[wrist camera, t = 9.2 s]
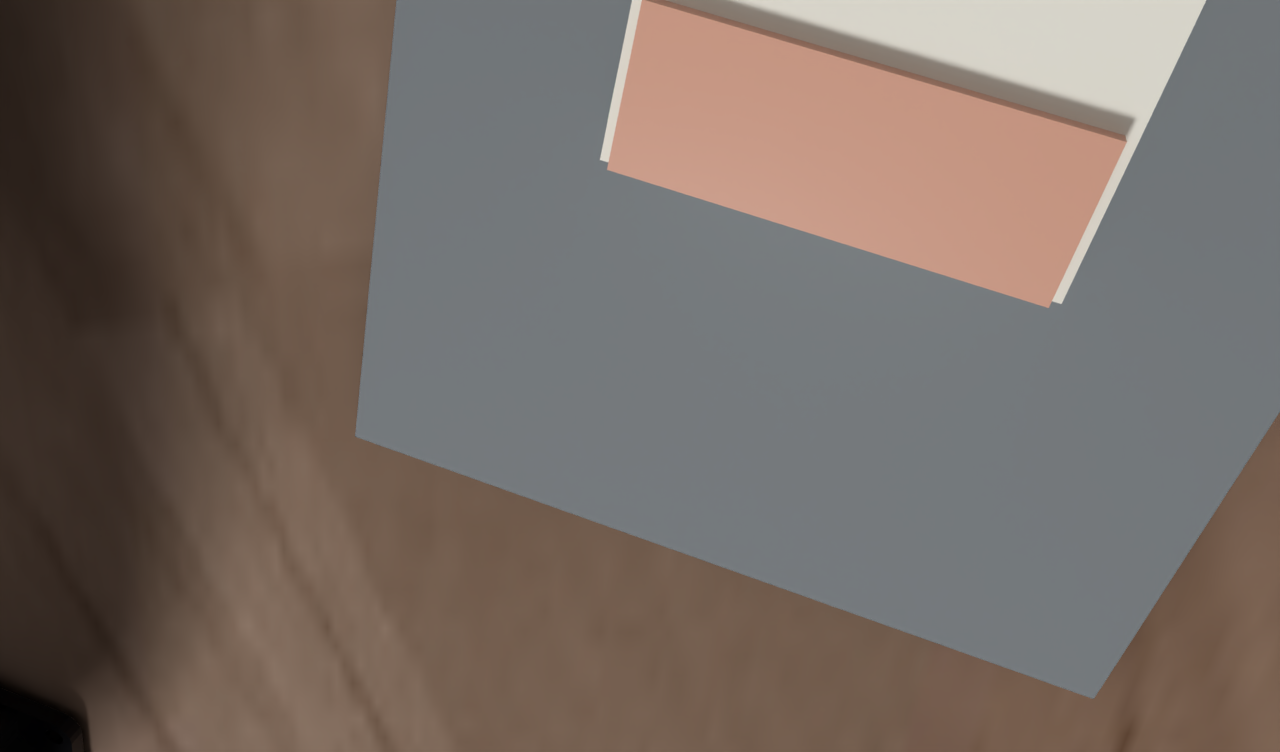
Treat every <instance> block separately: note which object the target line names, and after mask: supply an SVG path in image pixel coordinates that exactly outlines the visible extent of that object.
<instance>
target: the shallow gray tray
mask: <svg viewBox="0 0 1280 752" xmlns="http://www.w3.org/2000/svg"><path fill="white" fill-rule="evenodd" d="M631 3H632V0H397V1H396V11H395V22H394V32H393V43H392V53H391V64H390V74H389V85H388V96H387V106H386V117H385V127H384V138H383V148H382V159H381V169H380V180H379V191H378V201H377V212H376V222H375V233H374V243H373V254H372V265H371V275H370V286H369V296H368V307H367V317H366V328H365V338H364V349H363V360H362V370H361V381H360V391H359V402H358V412H357V423H356V434H355V437H358V438H361V439H363V440H366V441H369V442H372V443H375V444H377V445H380V446H383V447H386V448H389V449H392V450H394V451H397V452H400V453H403V454H406V455H408V456H411V457H414V458H417V459H420V460H422V461H425V462H428V463H431V464H434V465H437V466H439V467H442V468H445V469H448V470H451V471H453V472H456V473H459V474H462V475H465V476H468V477H470V478H473V479H476V480H479V481H482V482H484V483H487V484H490V485H493V486H496V487H498V488H501V489H504V490H507V491H510V492H513V493H515V494H518V495H521V496H524V497H527V498H529V499H532V500H535V501H538V502H541V503H543V504H546V505H549V506H552V507H555V508H558V509H560V510H563V511H566V512H569V513H572V514H574V515H577V516H580V517H583V518H586V519H588V520H591V521H594V522H597V523H600V524H603V525H605V526H608V527H611V528H614V529H617V530H619V531H622V532H625V533H628V534H631V535H634V536H636V537H639V538H642V539H645V540H648V541H650V542H653V543H656V544H659V545H662V546H664V547H667V548H670V549H673V550H676V551H679V552H681V553H684V554H687V555H690V556H693V557H695V558H698V559H701V560H704V561H707V562H709V563H712V564H715V565H718V566H721V567H724V568H726V569H729V570H732V571H735V572H738V573H740V574H743V575H746V576H749V577H752V578H755V579H757V580H760V581H763V582H766V583H769V584H771V585H774V586H777V587H780V588H783V589H785V590H788V591H791V592H794V593H797V594H800V595H802V596H805V597H808V598H811V599H814V600H816V601H819V602H822V603H825V604H828V605H830V606H833V607H836V608H839V609H842V610H845V611H847V612H850V613H853V614H856V615H859V616H861V617H864V618H867V619H870V620H873V621H875V622H878V623H881V624H884V625H887V626H890V627H892V628H895V629H898V630H901V631H904V632H906V633H909V634H912V635H915V636H918V637H921V638H923V639H926V640H929V641H932V642H935V643H937V644H940V645H943V646H946V647H949V648H951V649H954V650H957V651H960V652H963V653H966V654H968V655H971V656H974V657H977V658H980V659H982V660H985V661H988V662H991V663H994V664H996V665H999V666H1002V667H1005V668H1008V669H1011V670H1013V671H1016V672H1019V673H1022V674H1025V675H1027V676H1030V677H1033V678H1036V679H1039V680H1042V681H1044V682H1047V683H1050V684H1053V685H1056V686H1058V687H1061V688H1064V689H1067V690H1070V691H1072V692H1075V693H1078V694H1081V695H1084V696H1087V697H1089V698H1092V699H1094V698H1095V696H1096V695H1097V693H1098V691H1099V690H1100V688H1101V687H1102V685H1103V684H1104V682H1105V681H1106V679H1107V678H1108V676H1109V674H1110V673H1111V671H1112V670H1113V668H1114V667H1115V665H1116V664H1117V662H1118V661H1119V659H1120V657H1121V656H1122V654H1123V653H1124V651H1125V650H1126V648H1127V647H1128V645H1129V644H1130V642H1131V641H1132V639H1133V637H1134V636H1135V634H1136V633H1137V631H1138V630H1139V628H1140V627H1141V625H1142V624H1143V622H1144V620H1145V619H1146V617H1147V616H1148V614H1149V613H1150V611H1151V610H1152V608H1153V607H1154V605H1155V603H1156V602H1157V600H1158V599H1159V597H1160V596H1161V594H1162V593H1163V591H1164V590H1165V588H1166V586H1167V585H1168V583H1169V582H1170V580H1171V579H1172V577H1173V576H1174V574H1175V573H1176V571H1177V569H1178V568H1179V566H1180V565H1181V563H1182V562H1183V560H1184V559H1185V557H1186V556H1187V554H1188V552H1189V551H1190V549H1191V548H1192V546H1193V545H1194V543H1195V542H1196V540H1197V539H1198V537H1199V536H1200V534H1201V532H1202V531H1203V529H1204V528H1205V526H1206V525H1207V523H1208V522H1209V520H1210V519H1211V517H1212V515H1213V514H1214V512H1215V511H1216V509H1217V508H1218V506H1219V505H1220V503H1221V502H1222V500H1223V498H1224V497H1225V495H1226V494H1227V492H1228V491H1229V489H1230V488H1231V486H1232V485H1233V483H1234V481H1235V480H1236V478H1237V477H1238V475H1239V474H1240V472H1241V471H1242V469H1243V468H1244V466H1245V464H1246V463H1247V461H1248V460H1249V458H1250V457H1251V455H1252V454H1253V452H1254V451H1255V449H1256V447H1257V446H1258V444H1259V443H1260V441H1261V440H1262V438H1263V437H1264V435H1265V434H1266V432H1267V431H1268V429H1269V427H1270V426H1271V424H1272V423H1273V421H1274V420H1275V418H1276V417H1277V415H1278V414H1279V412H1280V0H1206V2H1205V4H1204V6H1203V8H1202V11H1201V13H1200V15H1199V17H1198V19H1197V21H1196V23H1195V25H1194V27H1193V29H1192V31H1191V34H1190V36H1189V38H1188V40H1187V42H1186V44H1185V46H1184V48H1183V50H1182V52H1181V55H1180V57H1179V59H1178V61H1177V63H1176V65H1175V67H1174V69H1173V71H1172V73H1171V76H1170V78H1169V80H1168V82H1167V84H1166V86H1165V88H1164V90H1163V92H1162V94H1161V97H1160V99H1159V101H1158V103H1157V105H1156V107H1155V109H1154V111H1153V113H1152V115H1151V117H1150V120H1149V122H1148V124H1147V126H1146V128H1145V130H1144V132H1143V134H1142V136H1141V138H1140V141H1139V143H1138V145H1137V147H1136V149H1135V151H1134V153H1133V155H1132V157H1131V159H1130V162H1129V164H1128V166H1127V168H1126V170H1125V172H1124V174H1123V176H1122V178H1121V180H1120V182H1119V185H1118V187H1117V189H1116V191H1115V193H1114V195H1113V197H1112V199H1111V201H1110V203H1109V206H1108V208H1107V210H1106V212H1105V214H1104V216H1103V218H1102V220H1101V222H1100V224H1099V227H1098V229H1097V231H1096V233H1095V235H1094V237H1093V239H1092V241H1091V243H1090V245H1089V247H1088V250H1087V252H1086V254H1085V256H1084V258H1083V260H1082V262H1081V264H1080V266H1079V268H1078V271H1077V273H1076V275H1075V277H1074V279H1073V281H1072V283H1071V285H1070V287H1069V289H1068V292H1067V294H1066V296H1065V298H1064V300H1063V302H1062V304H1059V303H1056V302H1053V301H1052V302H1051V304H1050V306H1049V308H1047V307H1044V306H1040V305H1037V304H1034V303H1031V302H1028V301H1024V300H1021V299H1018V298H1015V297H1012V296H1008V295H1005V294H1002V293H999V292H996V291H992V290H989V289H986V288H983V287H980V286H976V285H973V284H970V283H967V282H964V281H961V280H957V279H954V278H951V277H948V276H945V275H941V274H938V273H935V272H932V271H929V270H925V269H922V268H919V267H916V266H913V265H909V264H906V263H903V262H900V261H897V260H893V259H890V258H887V257H884V256H881V255H878V254H874V253H871V252H868V251H865V250H862V249H858V248H855V247H852V246H849V245H846V244H842V243H839V242H836V241H833V240H830V239H826V238H823V237H820V236H817V235H814V234H810V233H807V232H804V231H801V230H798V229H795V228H791V227H788V226H785V225H782V224H779V223H775V222H772V221H769V220H766V219H763V218H759V217H756V216H753V215H750V214H747V213H743V212H740V211H737V210H734V209H731V208H727V207H724V206H721V205H718V204H715V203H712V202H708V201H705V200H702V199H699V198H696V197H692V196H689V195H686V194H683V193H680V192H676V191H673V190H670V189H667V188H664V187H660V186H657V185H654V184H651V183H648V182H644V181H641V180H638V179H635V178H632V177H628V176H625V175H622V174H619V173H616V172H613V171H609V170H607V167H608V162H605V161H602V160H600V157H601V152H602V147H603V142H604V137H605V132H606V127H607V122H608V117H609V112H610V107H611V102H612V97H613V92H614V87H615V82H616V77H617V72H618V67H619V62H620V57H621V52H622V47H623V42H624V38H625V33H626V28H627V23H628V18H629V13H630V8H631Z"/></svg>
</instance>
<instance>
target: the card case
mask: <svg viewBox="0 0 1280 752" xmlns="http://www.w3.org/2000/svg"><path fill="white" fill-rule="evenodd" d="M1205 2H1206V0H632V3H631V8H630V13H629V18H628V23H627V28H626V33H625V38H624V42H623V47H622V52H621V57H620V62H619V67H618V72H617V77H616V82H615V87H614V92H613V97H612V102H611V107H610V112H609V117H608V122H607V127H606V132H605V137H604V142H603V147H602V152H601V157H600V160H602V161H605V162H608V167H607V170H609V171H613V172H616V173H619V174H622V175H625V176H628V177H632V178H635V179H638V180H641V181H644V182H648V183H651V184H654V185H657V186H660V187H664V188H667V189H670V190H673V191H676V192H680V193H683V194H686V195H689V196H692V197H696V198H699V199H702V200H705V201H708V202H712V203H715V204H718V205H721V206H724V207H727V208H731V209H734V210H737V211H740V212H743V213H747V214H750V215H753V216H756V217H759V218H763V219H766V220H769V221H772V222H775V223H779V224H782V225H785V226H788V227H791V228H795V229H798V230H801V231H804V232H807V233H810V234H814V235H817V236H820V237H823V238H826V239H830V240H833V241H836V242H839V243H842V244H846V245H849V246H852V247H855V248H858V249H862V250H865V251H868V252H871V253H874V254H878V255H881V256H884V257H887V258H890V259H893V260H897V261H900V262H903V263H906V264H909V265H913V266H916V267H919V268H922V269H925V270H929V271H932V272H935V273H938V274H941V275H945V276H948V277H951V278H954V279H957V280H961V281H964V282H967V283H970V284H973V285H976V286H980V287H983V288H986V289H989V290H992V291H996V292H999V293H1002V294H1005V295H1008V296H1012V297H1015V298H1018V299H1021V300H1024V301H1028V302H1031V303H1034V304H1037V305H1040V306H1044V307H1047V308H1049V306H1050V304H1051V302H1052V301H1053V302H1056V303H1059V304H1062V302H1063V300H1064V298H1065V296H1066V294H1067V292H1068V289H1069V287H1070V285H1071V283H1072V281H1073V279H1074V277H1075V275H1076V273H1077V271H1078V268H1079V266H1080V264H1081V262H1082V260H1083V258H1084V256H1085V254H1086V252H1087V250H1088V247H1089V245H1090V243H1091V241H1092V239H1093V237H1094V235H1095V233H1096V231H1097V229H1098V227H1099V224H1100V222H1101V220H1102V218H1103V216H1104V214H1105V212H1106V210H1107V208H1108V206H1109V203H1110V201H1111V199H1112V197H1113V195H1114V193H1115V191H1116V189H1117V187H1118V185H1119V182H1120V180H1121V178H1122V176H1123V174H1124V172H1125V170H1126V168H1127V166H1128V164H1129V162H1130V159H1131V157H1132V155H1133V153H1134V151H1135V149H1136V147H1137V145H1138V143H1139V141H1140V138H1141V136H1142V134H1143V132H1144V130H1145V128H1146V126H1147V124H1148V122H1149V120H1150V117H1151V115H1152V113H1153V111H1154V109H1155V107H1156V105H1157V103H1158V101H1159V99H1160V97H1161V94H1162V92H1163V90H1164V88H1165V86H1166V84H1167V82H1168V80H1169V78H1170V76H1171V73H1172V71H1173V69H1174V67H1175V65H1176V63H1177V61H1178V59H1179V57H1180V55H1181V52H1182V50H1183V48H1184V46H1185V44H1186V42H1187V40H1188V38H1189V36H1190V34H1191V31H1192V29H1193V27H1194V25H1195V23H1196V21H1197V19H1198V17H1199V15H1200V13H1201V11H1202V8H1203V6H1204V4H1205Z"/></svg>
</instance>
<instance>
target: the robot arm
mask: <svg viewBox="0 0 1280 752" xmlns="http://www.w3.org/2000/svg"><path fill="white" fill-rule="evenodd" d="M0 752H84V748H83V737H82V730H81V727H80V726H79V724H78V723H77V722H76V721H75V720H74V719H73V718H72V717H71V716H69V715H67V714H65V713H63V712H61V711H58V710H56V709H53V708H50V707H48V706H45V705H43V704H40V703H38V702H35V701H33V700H30V699H28V698H25V697H23V696H20V695H18V694H15V693H13V692H10V691H8V690H5V689H2V688H0Z"/></svg>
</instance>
